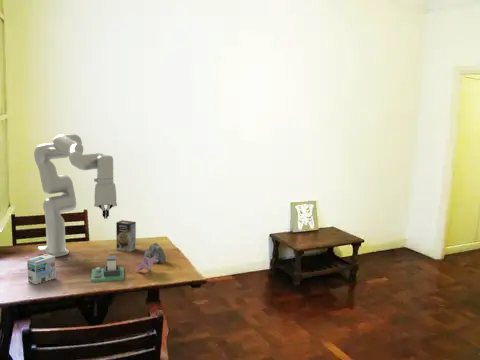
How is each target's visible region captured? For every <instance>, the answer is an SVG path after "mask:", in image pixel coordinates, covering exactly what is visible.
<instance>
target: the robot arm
mask: <svg viewBox="0 0 480 360" xmlns="http://www.w3.org/2000/svg"><path fill="white" fill-rule="evenodd" d="M83 153H84V146H83V141H82V138H81V137H80V136H79V135H78V134H75V133H69V134H58V135H56V136H55V137H54V138H53V139H52V142H51V143H50V142H49V143H41V144H39V145H37V146H36V147H35V149H34V153H33V156H34V157H33V159H34V161H35V164H36V166H37V168H38V171H39V177H40V182H41V183H40V184H41V187H42V190H43V192H44V194H46V195H54V196H49V197H48V198H45V200H43V202H42V209H43V212H44V219H45V236H46V245H44V246H38V247H37V250H38V251H40V252H43V255H44V254H49V255H52V256H55V258H59V257H63V256H66V255H68V254H69V252H70V251H69V249H68V248H66V226H65V224H66V223H65V219H64V217H63V216H62V215H61V214H63V213H68V212H69V213H70V212H72V211H74V210H75V209H76V207H77V198H76V194H75V187H74V184H73V181H72V178H71V177H70V176H68V175H67V174H61V175H60V174H59V175H58V173H57V167H56V166H55V164H54V162H52V161H51V160H58V159H66V158H68V160H69V162H70V163H71V165H72V166H73V167H75V168H77V169H78V170H82V171H92V170H96V178H94V179H93V181H94V182H96V184H95V187H94V204H93V205H94V207H96V208H99V209H100V210H101V211H102V217H103V219H104V220H105V219H107V220H108V217H110V210H111V209H112V208H114V207H117V206H118V203H117V188H116V183H114V157H113V156H112V155H105V154H103V153H98V152H97V153H88V154H87V153H85V154H83ZM55 194H61V195H55ZM105 206H106V208H105Z"/></svg>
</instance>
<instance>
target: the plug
mask: <svg viewBox="0 0 480 360" xmlns="http://www.w3.org/2000/svg"><path fill="white" fill-rule="evenodd" d="M106 257H107V259H106V260H107V261H106V262H107V263H106V264H107V271H113V270H116V265H117V255H116V254H115V255H113V254H112V255H107V256H106Z"/></svg>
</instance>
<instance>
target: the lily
mask: <svg viewBox="0 0 480 360" xmlns="http://www.w3.org/2000/svg"><path fill="white" fill-rule="evenodd" d="M155 257H156V256H154V257H153V258H151V259H149V258H148V257H145V256H143V258H142V260H141V263H140V264H138V265H137V266H135V268H137V270H136V273H139V272H140V271H142V270H144V269H145V270H147V271H150V274H151V275H153V274H152V273H153V272H152V270H151V266H152V265H153V264H156V263H155V262H157V261H159V260H154V259H155Z"/></svg>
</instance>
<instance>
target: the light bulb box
mask: <svg viewBox="0 0 480 360" xmlns="http://www.w3.org/2000/svg"><path fill="white" fill-rule="evenodd" d="M56 269H57V268H56V257H55V256H52V255H49V254H44V253H43V254H42V255H38V256H35V257H31V258H28V259H27V281H28V282H29V281H30V282H29V283H31V282H33V283H32V284H34V283H35V284H34V285H36V284H37V285H39V284H38V283H40V284H42V283H41V282H43V283H46V282H49V281H52V280H54V279H57V278H56V276H57V274H56V271H57V270H56ZM51 279H52V280H51ZM48 280H49V281H48ZM45 281H46V282H45Z"/></svg>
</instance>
